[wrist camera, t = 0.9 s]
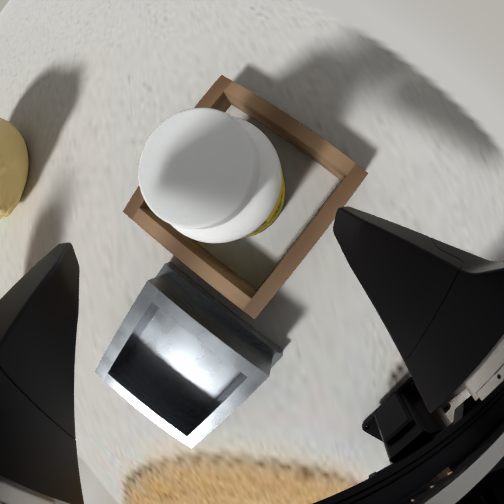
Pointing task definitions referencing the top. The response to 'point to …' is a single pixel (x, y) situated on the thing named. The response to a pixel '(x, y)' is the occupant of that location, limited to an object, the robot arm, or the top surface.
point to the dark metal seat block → (185, 357)
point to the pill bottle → (211, 176)
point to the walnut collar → (351, 178)
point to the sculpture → (11, 167)
